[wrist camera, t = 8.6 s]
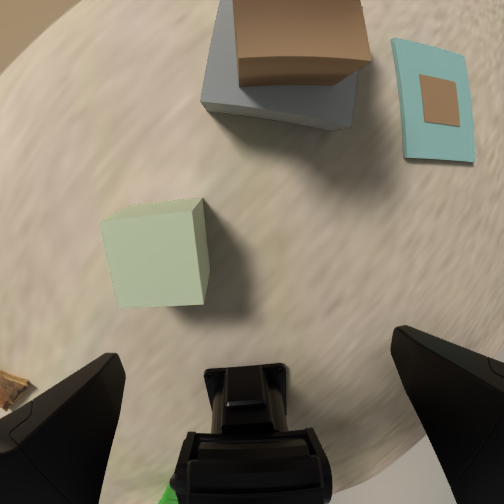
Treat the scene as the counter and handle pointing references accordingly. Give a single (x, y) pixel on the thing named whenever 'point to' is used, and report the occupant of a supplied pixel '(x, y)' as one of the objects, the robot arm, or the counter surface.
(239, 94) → the slate block
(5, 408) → the shard
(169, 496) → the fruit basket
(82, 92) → the counter surface
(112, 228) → the sage cube
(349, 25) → the walnut cube
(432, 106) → the card
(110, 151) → the counter surface
